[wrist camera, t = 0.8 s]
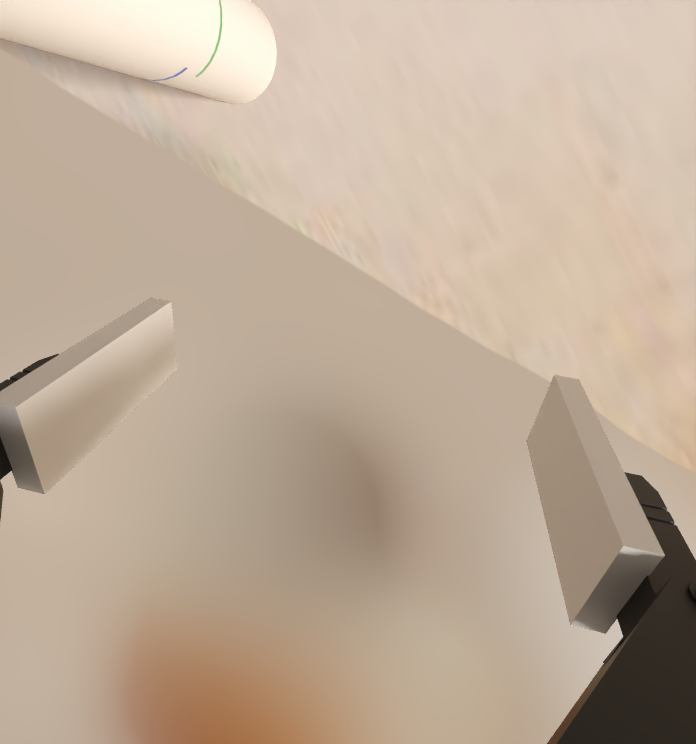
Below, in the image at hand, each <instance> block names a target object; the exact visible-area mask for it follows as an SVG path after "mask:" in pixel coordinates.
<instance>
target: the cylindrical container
mask: <svg viewBox="0 0 696 744" xmlns="http://www.w3.org/2000/svg"><path fill="white" fill-rule="evenodd" d="M0 38H1V39H4V40H8V41H11V42H15V43H19V44H22V45H26V46H29V47H33V48H36V49H40V50H44V51H47V52H51V53H54V54H58V55H61V56H65V57H68V58H72V59H75V60H79V61H82V62H86V63H89V64H93V65H96V66H100V67H103V68H106V69H110V70H113V71H117V72H120V73H124V74H127V75H131V76H134V77H138V78H141V79H145V80H148V81H152V82H156V83H159V84H163V85H167V86H170V87H174V88H177V89H181V90H185V91H188V92H192V93H195V94H199V95H202V96H205V97H209V98H212V99H216V100H219V101H223V102H226V103H232V104H243V103H247V102H250V101H252V100H254V99H255V98H257V97H258V96H259V95H260V94H262V93H263V92H264V90H265V89H266V88H267V86H268V85H269V83H270V81H271V79H272V77H273V74H274V70H275V66H276V56H277V51H276V42H275V37H274V33H273V30H272V28H271V25H270V23H269V21H268V20H267V18H266V16H265V15H264V13H263V12H262V11H261V10H260V9H259V8H258V6H257V5H256V4H255V3H253V2H252V1H251V0H0Z"/></svg>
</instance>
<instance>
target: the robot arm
mask: <svg viewBox="0 0 696 744" xmlns="http://www.w3.org/2000/svg"><path fill="white" fill-rule="evenodd" d="M174 335H175V334H174V325H173V314H172V304H171V301H166V300H161V299H156V298H150V299H148V300H146V301H145V302H143V303H142V304H140V305H138V306H137V307H135V308H133V309H132V310H131V311H129V312H127V313H126V314H124V315H122V316H121V317H119V318H117V319H116V320H114V321H113V322H111V323H109V324H108V325H106V326H104V327H103V328H101V329H100V330H98V331H96V332H95V333H93V334H92V335H90V336H88V337H87V338H85V339H84V340H82V341H80V342H79V343H77V344H76V345H74V346H72V347H71V348H69V349H67V350H66V351H64V352H63V353H61V354H56V355H53V356H50V357H47V358H44V359H41V360H39V361H37V362H35V363H33V364H32V365H30V366H28V367H27V368H25V369H24V370H23V372H18V373H17V374H16V375H14V376H12V377H10V380H5V381H4V382H2V383H0V480H1V479H2V478H3V477H4V476H5V475H7V474H8V473H9V472H10V471H12V473H13V475H14V478H15V481H16V484H17V486H18V488H22V489H26V490H30V491H35V492H38V493H42V494H45V493H46V492H47V491H49V489H51V488H52V487H53V486H54V485H55V484H56V483H57V482H58V481H59V480H60V479H61V478H62V477H63V476H64V475H65V474H67V473H68V472H69V471H70V470H71V469H72V468H73V467H74V466H75V465H76V464H77V463H78V462H79V461H80V460H81V459H82V458H84V457H85V456H86V455H87V454H88V453H89V452H90V451H91V450H92V449H93V448H94V447H95V446H96V445H97V444H98V443H99V442H100V441H101V440H103V439H104V438H105V437H106V436H107V435H108V434H109V433H110V432H111V431H112V430H113V429H114V428H115V427H116V426H117V425H118V424H119V423H121V422H122V421H123V420H124V419H125V418H126V417H127V416H128V415H129V414H130V413H131V412H132V411H133V410H134V409H135V408H136V407H138V406H139V405H140V404H141V403H142V402H143V401H144V400H145V399H146V398H147V397H148V396H149V395H150V394H151V393H152V392H153V391H154V390H156V389H157V388H158V387H159V386H160V385H161V384H162V383H163V382H164V381H165V380H166V379H167V378H168V377H169V376H170V375H171V374H172V373H173V372H174V371H176V370H177V369H178V366H177V355H176V345H175V336H174ZM527 445H528V449H529V453H530V457H531V461H532V466H533V470H534V474H535V478H536V482H537V486H538V491H539V495H540V499H541V504H542V508H543V512H544V516H545V520H546V524H547V529H548V533H549V537H550V541H551V546H552V550H553V554H554V558H555V562H556V567H557V571H558V575H559V579H560V583H561V587H562V591H563V596H564V600H565V604H566V609H567V613H568V617H569V621H570V625H573V626H577V627H581V628H585V629H589V630H593V631H598V632H601V633H606V632H607V631H608V630H609V628H610V627H611V626H612V624H613V623H614V622H615V620H616V619H618V622H619V625H620V628H621V631H622V634H623V638H622V639H621V641H620V642H619V643H618V644H617V645H616V647H615V648H614V649H613V651H612V652H611V653H610V654H609V656H608V657H607V658H606V659H605V661H604V662H603V663H604V664H603V665H602V667H601V668H600V670H599V671H598V673H597V674H596V675H595V677H594V678H593V680H592V681H591V682H590V684H589V685H588V687H587V688H586V689H585V691H584V692H583V694H582V695H581V696H580V698H579V699H578V701H577V702H576V704H575V705H574V706H573V708H572V709H571V711H570V712H569V713H568V715H567V716H566V718H565V719H564V721H563V722H562V723H561V725H560V726H559V728H558V729H557V730H556V732H555V733H554V735H553V736H552V737H551V739H550V740H549V742H548V743H547V744H696V560H695V558H694V556H693V555H692V553H691V551H690V549H689V547H688V546H687V544H686V542H685V540H684V538H683V537H682V535H681V533H680V531H679V529H678V528H677V526H676V525H674V520H673V518H672V517H671V515H670V513H669V512H667V508H666V506H665V504H664V502H663V500H662V498H661V497H660V495H659V493H658V492H657V491H656V490H655V489H654V488H653V487H652V486H651V485H650V484H649V483H648V482H647V481H646V480H645V479H644V478H643V477H642V476H640V475H635V474H630V473H625V472H624V471H623V469H622V467H621V465H620V462H619V460H618V458H617V456H616V454H615V452H614V450H613V448H612V446H611V444H610V442H609V440H608V438H607V436H606V434H605V432H604V430H603V428H602V426H601V424H600V422H599V420H598V418H597V415H596V413H595V411H594V409H593V407H592V405H591V403H590V401H589V399H588V397H587V395H586V393H585V391H584V389H583V387H582V385H581V383H580V381H579V380H578V379H573V378H568V377H563V376H558V375H554V377H553V379H552V382H551V384H550V387H549V389H548V391H547V394H546V396H545V398H544V401H543V403H542V405H541V408H540V410H539V413H538V415H537V418H536V420H535V422H534V425H533V427H532V429H531V432H530V434H529V437H528V439H527ZM2 498H3V488H2V485H1V482H0V518H1V508H2Z"/></svg>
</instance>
